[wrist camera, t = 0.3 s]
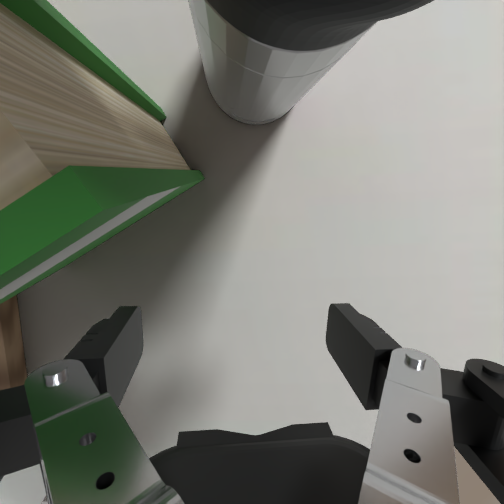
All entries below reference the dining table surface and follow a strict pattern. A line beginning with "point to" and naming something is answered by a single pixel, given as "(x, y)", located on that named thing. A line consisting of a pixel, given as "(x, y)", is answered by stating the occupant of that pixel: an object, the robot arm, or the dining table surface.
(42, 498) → the can
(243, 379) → the dining table surface
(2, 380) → the notched board
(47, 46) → the hardback book
